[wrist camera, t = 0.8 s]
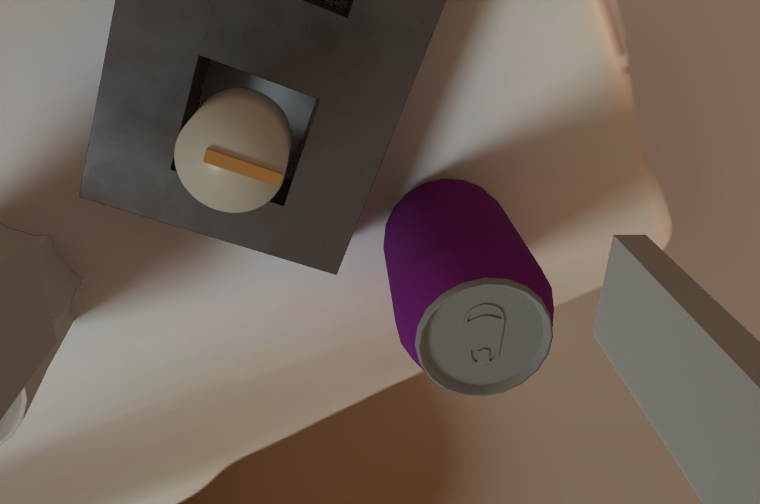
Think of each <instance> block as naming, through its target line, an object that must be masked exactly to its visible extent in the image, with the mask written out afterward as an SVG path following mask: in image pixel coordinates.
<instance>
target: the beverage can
mask: <svg viewBox="0 0 760 504" xmlns="http://www.w3.org/2000/svg"><path fill="white" fill-rule="evenodd" d="M384 253H385V259H386V265H387V272H388V278H389V284H390V290H391V296H392V302H393V308H394V315H395V321H396V325H397V329H398V333H399V337H400V341H401V344H402V345H403V346H404V348H405V349H406V351H407V352H408V353H409V355H410V356H411V358H412V359H413V360H414V361H415V362H416V363H417V364H418V365H419V366H420V367H421V368H422V369H423V370H424V371H425V372H426V373H427V374H428V376H429V377H430V378H431V380H433V381H434V382H435V383H437V384H438V385H440V386H441V387H443V388H444V389H445V390H448V391H451V392H454V393H457V394H461V395H464V396H488V395H493V394H497V393H502V392H505V391H507V390H509V389H512V388H513V387H516V386H517V385H520V384H522V383H523V382H524V381H526V380H527V379H528V378H529V377H530V376H531V375H533V373H535V372H536V371H537V370H538V369H539V368H540V366H541V364H542V363H543V361H544V360H545V358H546V357H547V355H548V354H549V349H550V346H551V342H552V338H553V332H552V326H553V312H554V307H553V297H552V288H551V286H550V284H549V282H548V280H547V279H546V277H545V275H544V273H543V271H542V269H541V268H540V266H539V265H538V263H537V261H536V260H535V258H534V257H533V255H532V254H531V252H530V251H529V249H528V247H527V246H526V244H525V243H524V241H523V240H522V238H521V237H520V235H519V234H518V232H517V230H516V229H515V227H514V226H513V224H512V223H511V221H510V220H509V218H508V216H507V215H506V213H505V212H504V210H503V209H502V207H501V206H500V204H499V203H498V202H497V201H496V200H495V199H494V198H493V197H492V196H491V195H489V194H488V193H487V192H486V191H485V190H484V189H483V188H481V187H479V186H477V185H474V184H472V183H469V182H467V181H464V180H453V179H441V180H437V181H433V182H428V183H424V184H423V185H421V186H419V187H417V188H416V189H414V190H412V191H410V192H409V193H407V194H406V195H405V196H404V197H403V198H402V199H401V200H400V201H399V203H398V204H397V205H396V206H395V207H394V208H393V210H392V212H391V215H390V217H389V219H388V221H387V223H386V228H385V237H384Z"/></svg>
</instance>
